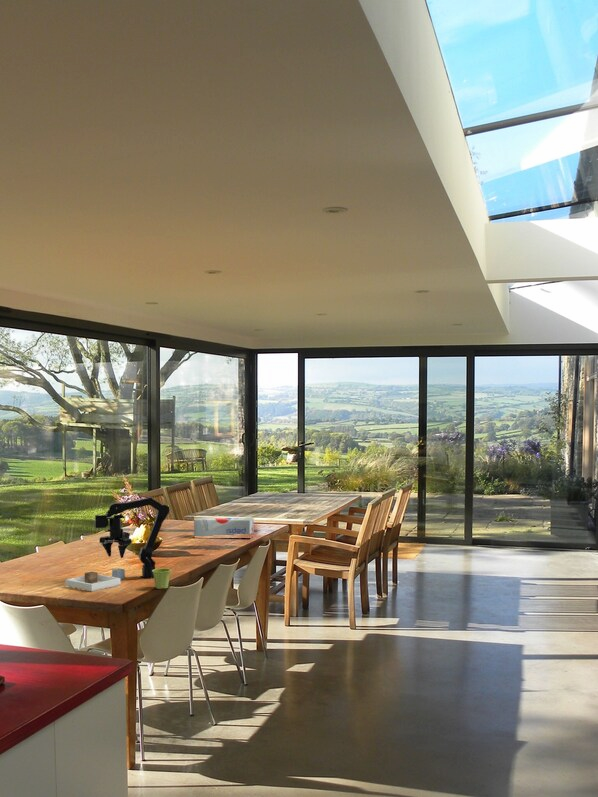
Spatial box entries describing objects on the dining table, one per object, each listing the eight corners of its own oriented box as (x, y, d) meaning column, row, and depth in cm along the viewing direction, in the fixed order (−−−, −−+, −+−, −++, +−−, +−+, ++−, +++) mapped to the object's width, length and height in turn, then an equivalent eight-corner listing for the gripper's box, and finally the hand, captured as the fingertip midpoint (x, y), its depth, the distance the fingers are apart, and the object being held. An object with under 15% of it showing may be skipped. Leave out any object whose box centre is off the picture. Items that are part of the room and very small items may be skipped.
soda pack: (254, 537, 549) (254, 517, 549) (250, 540, 536) (250, 519, 536) (198, 536, 555) (198, 516, 556) (193, 538, 543) (193, 518, 543)
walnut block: (97, 582, 394) (97, 572, 394) (90, 584, 390) (90, 574, 390) (91, 581, 396) (91, 571, 396) (84, 582, 393) (84, 572, 393)
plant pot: (148, 589, 382) (148, 571, 382) (158, 585, 391) (158, 567, 391) (164, 590, 379) (164, 572, 379) (174, 586, 387) (174, 569, 388)
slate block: (124, 578, 407) (124, 569, 407) (118, 580, 403) (118, 570, 403) (118, 577, 409) (118, 568, 410) (112, 579, 406) (112, 569, 406)
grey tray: (120, 585, 391) (120, 578, 391) (91, 591, 376) (91, 584, 376) (94, 580, 402) (94, 573, 402) (65, 586, 388) (65, 579, 388)
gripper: (139, 526, 407) (139, 556, 406) (114, 524, 417) (115, 553, 417) (123, 529, 397) (123, 559, 397) (98, 526, 408) (99, 556, 408)
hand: (115, 557), depth 405 cm, fingers open, 9 cm apart
